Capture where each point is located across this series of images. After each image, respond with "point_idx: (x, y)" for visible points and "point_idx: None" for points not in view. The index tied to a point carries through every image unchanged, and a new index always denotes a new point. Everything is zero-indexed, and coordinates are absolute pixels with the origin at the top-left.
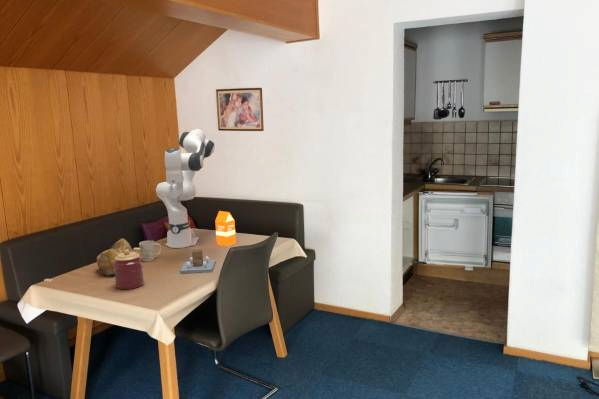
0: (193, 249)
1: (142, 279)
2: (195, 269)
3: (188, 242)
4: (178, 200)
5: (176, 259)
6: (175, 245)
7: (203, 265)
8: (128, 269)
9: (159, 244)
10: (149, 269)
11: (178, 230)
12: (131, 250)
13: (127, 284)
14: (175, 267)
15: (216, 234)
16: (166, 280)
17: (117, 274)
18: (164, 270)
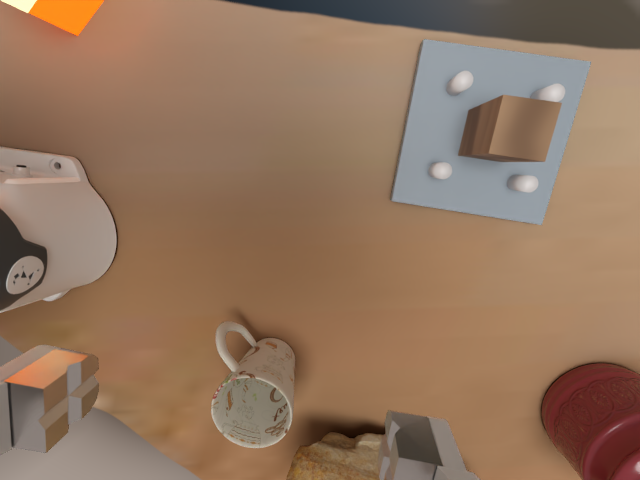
0: (492, 152)
1: (637, 377)
2: (553, 149)
3: (77, 191)
4: (54, 407)
5: (300, 243)
6: (104, 255)
7: None
8: None
9: (220, 342)
10: (413, 349)
11: (30, 255)
12: (322, 464)
13: None
14: (427, 245)
15: (26, 9)
16: (604, 277)
17: None
18: (453, 290)
